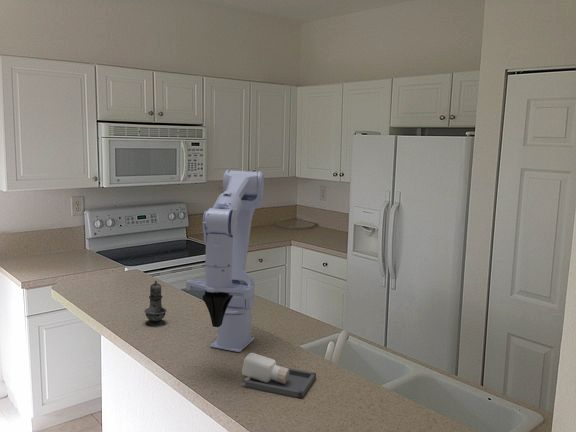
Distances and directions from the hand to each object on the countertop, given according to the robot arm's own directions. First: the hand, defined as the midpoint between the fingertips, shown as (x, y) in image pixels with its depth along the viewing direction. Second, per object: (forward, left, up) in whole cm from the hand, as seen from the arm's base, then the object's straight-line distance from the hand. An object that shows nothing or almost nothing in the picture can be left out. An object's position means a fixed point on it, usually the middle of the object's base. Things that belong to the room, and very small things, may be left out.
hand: (217, 325), depth 116 cm
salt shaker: (-20, -28, -11) cm, 36 cm away
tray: (-1, +15, -10) cm, 18 cm away
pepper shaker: (0, +7, -7) cm, 10 cm away
